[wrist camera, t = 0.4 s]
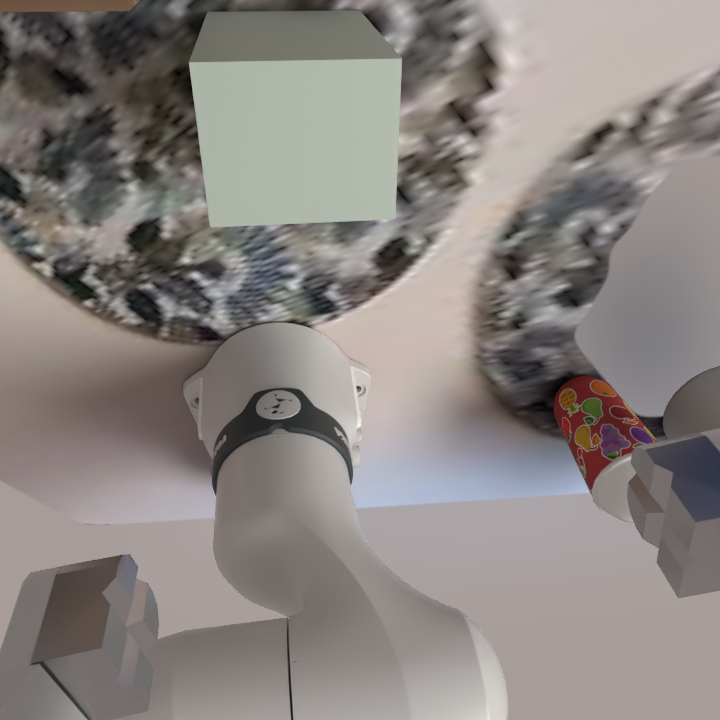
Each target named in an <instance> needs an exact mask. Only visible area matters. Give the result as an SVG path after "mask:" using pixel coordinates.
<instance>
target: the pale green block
mask: <svg viewBox="0 0 720 720" xmlns="http://www.w3.org/2000/svg"><path fill="white" fill-rule="evenodd" d="M189 68H190V75H191V83H192V91H193V98H194V106H195V114H196V121H197V129H198V137H199V144H200V152H201V160H202V167H203V175H204V183H205V190H206V198H207V206H208V213H209V221H210V227H231V226H253V225H276V224H298V223H320V222H342V221H364V220H386V219H395V211H396V188H397V164H398V141H399V117H400V94H401V70H402V58H401V57H400V56H399V55H398V54H397V52H396V51H395V50H394V49H393V48H392V47H391V46H390V44H389V43H388V42H387V41H386V40H385V39H384V38H383V37H382V35H381V34H380V33H379V32H378V31H377V30H376V29H375V28H374V26H373V25H372V24H371V23H370V22H369V21H368V20H367V18H366V17H365V16H364V15H363V14H362V13H361V12H360V11H359V10H348V11H238V12H207V14H206V17H205V20H204V22H203V25H202V28H201V31H200V33H199V36H198V39H197V41H196V44H195V47H194V50H193V52H192V55H191V58H190V60H189Z"/></svg>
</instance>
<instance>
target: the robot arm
mask: <svg viewBox="0 0 720 720" xmlns="http://www.w3.org/2000/svg"><path fill="white" fill-rule="evenodd" d="M370 384H371V373H370V371H369V370H368V369H367V368H366V367H365V366H363V365H361V364H359V363H357V362H355V361H353V360H351V359H349V358H347V357H346V356H345V355H344V354H343V353H342V352H341V350H340V349H339V348H338V347H337V346H336V345H335V344H334V343H333V342H332V341H331V340H330V339H329V338H327V337H326V336H325V335H323V334H321V333H320V332H318V331H316V330H313V329H311V328H308V327H305V326H302V325H297V324H292V323H267V324H261V325H257V326H253V327H250V328H248V329H245V330H243V331H241V332H239V333H237V334H235V335H234V336H232V337H231V338H229V339H228V340H227V341H225V342H224V343H223V344H222V345H221V346H220V347H219V348H218V349H217V351H216V352H215V353H214V355H213V356H212V358H211V359H210V361H209V363H208V364H207V365H206V366H205V368H204V369H202V370H201V371H199V372H197V373H196V374H194V375H193V376H191V377H190V378H189V379H187V380H186V381H185V383H184V385H183V394H184V397H185V400H186V402H187V404H188V406H189V408H190V411H191V413H192V415H193V417H194V420H195V422H196V424H197V426H198V436H199V439H200V440H203V442H204V445H205V447H206V449H207V451H208V453H209V455H210V457H211V459H212V461H211V475H212V485H213V489H214V493H215V495H216V507H215V524H214V541H213V550H214V556H215V560H216V563H217V565H218V568H219V570H220V572H221V573H222V575H223V576H224V578H225V579H226V580H227V581H228V583H230V584H231V585H232V586H233V587H234V588H235V589H236V590H237V591H238V592H239V593H240V594H241V595H242V596H244V597H245V598H246V599H248V600H250V601H252V602H253V603H255V604H258V605H260V606H262V607H265V608H268V609H270V610H273V611H276V612H278V613H281V614H283V615H285V616H287V617H289V619H288V618H281V619H273V620H265V621H257V622H250V623H241V624H233V625H225V626H218V627H210V628H201V629H193V630H186V631H182V632H179V633H176V634H173V635H169V636H166V637H163V638H160V639H157V636H158V627H159V621H158V609H157V604H156V600H155V597H154V594H153V591H152V590H151V588H150V587H149V585H148V583H145V582H143V581H141V580H139V579H137V578H136V576H137V570H138V566H137V564H136V563H135V561H134V560H133V558H132V557H131V555H130V554H128V555H120V556H114V557H109V558H103V559H98V560H92V561H87V562H81V563H76V564H71V565H65V566H61V567H56V568H51V569H46V570H40V571H35V572H31V573H30V574H29V575H28V576H27V578H26V579H25V580H24V582H23V583H22V586H21V589H20V592H19V596H18V598H17V601H16V605H15V608H14V610H13V613H12V617H11V620H10V623H9V626H8V629H7V632H6V635H5V638H4V641H3V644H2V647H1V650H0V720H507V716H508V698H507V688H506V683H505V678H504V674H503V671H502V668H501V665H500V663H499V660H498V657H497V655H496V653H495V651H494V649H493V647H492V646H491V644H490V642H489V641H488V639H487V638H486V637H485V635H484V634H483V632H482V631H481V630H480V629H479V628H478V627H477V625H476V624H475V623H474V622H473V621H472V620H471V619H469V618H468V617H467V616H466V615H465V614H463V613H462V612H461V611H459V610H458V609H456V608H453V607H450V606H447V605H445V604H443V603H440V602H438V601H436V600H434V599H432V598H430V597H428V596H426V595H424V594H422V593H420V592H419V591H418V590H416V589H414V588H413V587H411V586H410V585H409V584H407V583H406V582H404V581H403V580H401V579H400V578H399V577H398V576H397V575H396V574H395V573H393V572H392V571H391V570H390V569H389V568H388V567H387V566H386V565H385V564H384V563H383V562H382V561H381V560H380V559H379V557H378V556H377V555H376V554H375V553H374V551H373V550H372V549H371V547H370V546H369V544H368V542H367V541H366V539H365V537H364V534H363V532H362V529H361V526H360V522H359V519H358V515H357V512H356V508H355V504H354V500H353V495H352V491H351V483H352V478H353V468H356V467H358V466H359V463H360V448H359V446H357V445H355V443H361V439H362V431H361V430H360V429H359V427H360V426H361V418H362V414H363V411H364V407H365V403H366V399H367V395H368V392H369V388H370ZM356 386H360V387H359V388H356ZM196 398H199V400H197V399H196ZM631 465H632V467H633V468H634V470H635V471H636V474H635V475H634V476H633V478H632V479H631V480H630V481H629V482H628V489H627V500H628V505H629V510H630V514H631V517H632V519H633V521H634V524H635V526H636V528H637V530H638V531H639V533H640V535H641V537H642V538H643V539H644V540H646V541H647V542H649V543H651V544H652V545H654V546H656V547H658V548H659V551H658V557H657V564H658V565H659V567H660V569H661V570H662V572H663V574H664V575H665V577H666V579H667V580H668V582H669V583H670V585H671V587H672V588H673V590H674V592H675V594H676V595H677V597H678V598H682V597H687V596H693V595H698V594H704V593H709V592H715V591H720V428H719V429H714V430H709V431H704V432H700V433H697V434H695V433H693V434H688V435H684V436H679V437H675V438H670V439H666V440H661V441H657V442H652V443H648V444H643V445H639V446H636V447H635V449H634V450H633V451H632V456H631Z"/></svg>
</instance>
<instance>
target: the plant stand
mask: <svg viewBox="0 0 720 720" xmlns="http://www.w3.org/2000/svg"><path fill="white" fill-rule="evenodd" d="M139 1H140V0H0V12H67V11H130V10H131V9H132V8H133V7H134V6H135V5H136V4H137V3H138V2H139Z"/></svg>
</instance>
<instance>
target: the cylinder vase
mask: <svg viewBox="0 0 720 720" xmlns="http://www.w3.org/2000/svg"><path fill="white" fill-rule="evenodd" d="M719 428H720V366H719V367H715V368H712V369H710V370H707V371H705V372H703V373H701V374H699V375H697V376H695V377H694V378H692V379H691V380H689V381H688V382H687V383H685V384H684V385H683V386H682V387H681V388H680V389H679V390H678V391H677V392H676V393H675V394H674V395H673V397H672V399H671V400H670V401H669V403H668V405H667V407H666V409H665V412H664V416H663V429H664V432H665V435H666V437H667V438H668V439H670V438H675V437H679V436H684V435H688V434H693V433H695V434H697V433H700V432H704V431H709V430H714V429H719Z"/></svg>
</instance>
